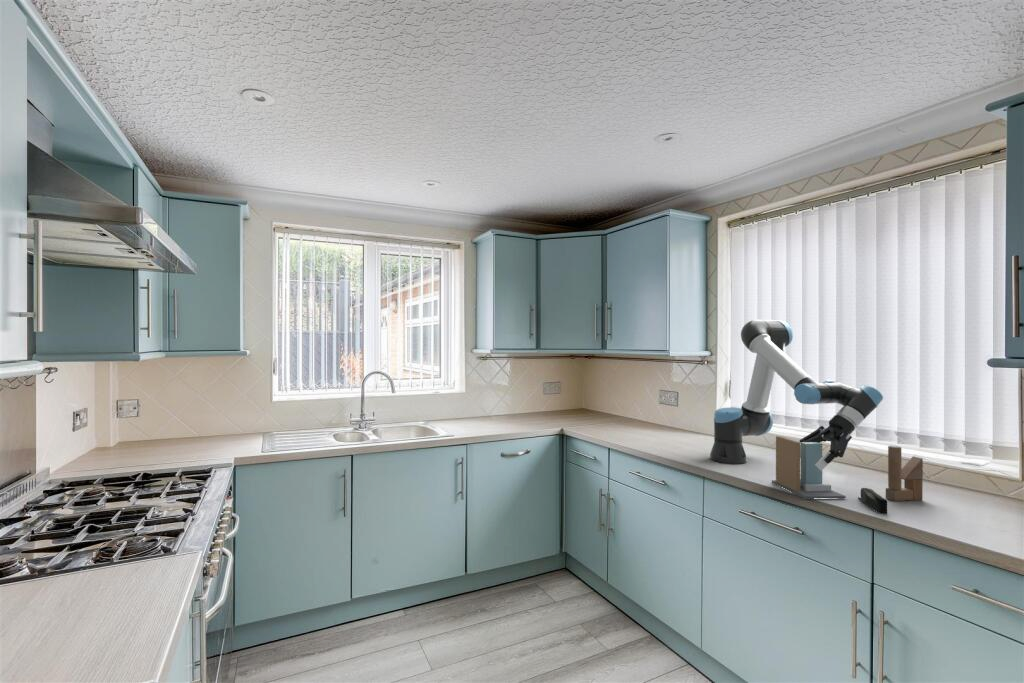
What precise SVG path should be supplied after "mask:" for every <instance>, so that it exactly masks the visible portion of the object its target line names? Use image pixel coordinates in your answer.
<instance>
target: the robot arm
mask: <svg viewBox="0 0 1024 683" xmlns="http://www.w3.org/2000/svg"><path fill="white" fill-rule="evenodd" d="M793 332H794V331H793V329H792V328H791V326H790V325H789V323H787V322H786V321H784V320H779V319H778V320H776V319H752V320H750V321H748V322H747V323H745V324H744V325H743V326H742V329H741V331H740V337H741V341H742V344H743V345H744V347H745V348H747V349H748V350H749V351H750V352H751V353H753V354H756V356H755V361H754V365H753V368H752V369H753V370H752V375H751V378H750V383H749V389H748V393H747V398H746V401H744V402H743V403H742V404H741V407H736V406H735V407H733V406H731V407H721V408H717V409H716V410H715V412H714V418H713V422H714V424H713V426H714V427H713V428H714V432H713V434H714V436H713V437H714V440H713V441H714V442H713V445H712V447H711V451H710V453H709V454H710V455H709V459H710V460H711V461H713V460H714V461H713V462H716V461H717V462H718V463H721V462H723V463H722V464H729V463H732V464H731V465H739V464H740V465H741V464H745V463H747V455H746V451H745V449H744V445H743V437H750V436H755V437H759V436H763V435H766V434H768V433H769V432H770V431H771V429H772V427H773V426H774V425H773V424H774V420H773V418H772V417H773V415H772V414H771V412H770V411H771V410H770V408H769V406H768V403H769V399H770V394H771V391H772V385H773V381H774V378H775V373H776V374H777V375H778V376H779V377H780V378H781V379H782V380H783V381H784V382H786V384H788V386H789V387H791V388H792V389H793V390H794V392H793V396H794V397H795V400H796V401H797V402H799V403H800V404H803V405H822V404H823V405H824V404H838V405H841V406H842V407H841V408H840V409H839V410H838V411H837V412H836V413H835V415H833V416H832V418H830V419H829V421H828V426H827V427H824V426H823V425H820V426H819V427H817V429H815V430H814V431H812V432H810V433H809V434H808V435H805V436H804V437H802V438H801V439H799V442H800V459H801V442H818V443H824V442H825V443H826V442H830V446H829V450H828V451H826V453H825V454H824V455H822V458H821V459H820V460H819V461H818V462H817V463H816V464H815V466H816V467H817V468H818V469H819V470H820V471H822V472H823V470H824V469H825V468H826V467H827V466H828V465H829V464H830V463H832V461H833V460H834V459H835V458H838V457H839V458H843V457H844V455H845V452H846V450H847V448H848V445H849V442H850V441H851V440H852V438H853V437H852V435H851V434H852V433H853V432H854V431H855V429H856V428H858V426H860V425H861V423H863V421H864V420H865V419H866V418H867V417H868V416H869V415H870V414H871V413H872V412H873V411H874V410H875V409H876V408H878V406H879V404H880V403H881V402H882V401H883V400H884V397H883V395H882V392H880V391H879V389H877V388H875V387H874V386H872V385H868V384H867V385H865V384H864V385H862V386H861V387H860V388H855V387H853V386H849V385H847V384H844V383H841V382H839V381H834V380H832V379H825V381H823V382H822V383H820V382H819V383H818V382H817V381H816V380H815V379H814V378H812V377H811V376H810V375H809V374H807V372H806V371H805V370H803V369H802V367H800V366H799V365H798V364H797V363H796V362H794V360H793V359H792V358H790V356H788V355H787V354H786V353H785V352H784V350H785V348H786V347H788V346H789V345H790V344H791V343H792V342H793V339H794V333H793Z"/></svg>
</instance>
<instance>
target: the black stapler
mask: <svg viewBox="0 0 1024 683" xmlns="http://www.w3.org/2000/svg"><path fill="white" fill-rule="evenodd" d="M857 499H858V500H859V501H860V502H862V501H863V504H865V505H866V506H868V507H869V508H870V509H871V510H873V511H874V510H875V511H874V512H876V511H877V512H876V513H878V512H879V513H878V514H882V513H884V514H885V515H886V514H888V501H887V500H888V499H887V498H884V497H882V496H881V495H880V494H878V493H877V492H875V491H874V489H872V488H868V487H861V488H860V497H859V496H858V497H857Z"/></svg>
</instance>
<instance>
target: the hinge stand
mask: <svg viewBox="0 0 1024 683" xmlns="http://www.w3.org/2000/svg"><path fill="white" fill-rule="evenodd" d="M800 445H801V443H800V441H797V440H793V439H790V438H787V437H784V436H780V435H776V436H775V480H774V479H773V480H771V484H773V483H774V484H773V485H775V484H776V485H775V486H777V485H778V486H777V487H779V486H780V487H779V488H781V487H783V488H785V489H787V490H789V491H791V492H792V493H791V492H790V493H791V494H794V495H796V496H798V497H800V498H803V499H804V500H815V499H814V498H847V497H846V496H847V495H844V494H841V493H839V492H837V491H834V490H832V485H831V484H829V483H822V484H804V488H803V487H801V458H800ZM783 488H782V489H783ZM785 489H784V490H785ZM787 490H786V491H787ZM789 491H788V492H789Z"/></svg>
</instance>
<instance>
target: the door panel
mask: <svg viewBox="0 0 1024 683" xmlns="http://www.w3.org/2000/svg"><path fill="white" fill-rule="evenodd" d="M800 445H801V458H800V479H801V487H803V488H804V484H823V470H822V471H820V470H819V469H818V468H817V467H816V466H815V464H816V463H817V462H818V461H819V460H820V459H821V458H822V457H823V443H822V442H820V443H818V442H801V443H800Z"/></svg>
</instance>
